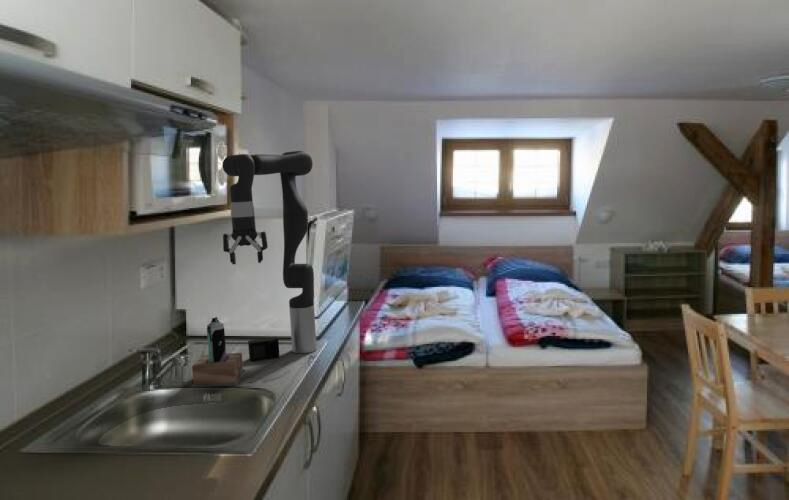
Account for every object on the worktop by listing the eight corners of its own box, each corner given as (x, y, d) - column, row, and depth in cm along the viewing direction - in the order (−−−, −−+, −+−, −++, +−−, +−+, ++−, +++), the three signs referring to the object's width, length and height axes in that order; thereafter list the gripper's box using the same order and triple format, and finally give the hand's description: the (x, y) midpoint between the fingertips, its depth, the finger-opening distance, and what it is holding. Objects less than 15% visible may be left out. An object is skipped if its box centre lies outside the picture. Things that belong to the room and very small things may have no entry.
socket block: (203, 374, 208) (201, 354, 207) (244, 371, 208) (243, 352, 208) (191, 387, 194) (190, 366, 193) (236, 385, 195) (234, 364, 194)
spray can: (223, 379, 198) (218, 319, 196) (207, 379, 199) (202, 319, 197) (230, 374, 203) (226, 315, 201) (215, 374, 204) (211, 315, 202)
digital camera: (251, 362, 219) (250, 343, 218) (249, 359, 224) (247, 340, 223) (280, 358, 223) (279, 339, 222) (277, 354, 228) (275, 336, 227)
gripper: (266, 213, 207) (270, 260, 209) (224, 215, 206) (228, 262, 208) (262, 215, 199) (266, 264, 201) (218, 217, 199) (222, 266, 201)
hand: (246, 263), depth 205 cm, fingers open, 8 cm apart
